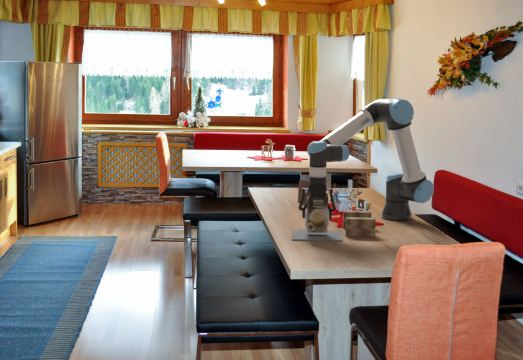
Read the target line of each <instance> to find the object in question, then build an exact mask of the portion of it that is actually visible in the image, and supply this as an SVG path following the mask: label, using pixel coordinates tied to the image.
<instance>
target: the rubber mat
mask: <svg viewBox="0 0 523 360" xmlns="http://www.w3.org/2000/svg"><path fill="white" fill-rule="evenodd" d="M342 237H343V236H342V235H341V231H340V230H327V233H307V231H306V229H305V230H304V229H303V230H298V229H292V230H291V241H293V242H294V241H296V242H297V241H299V242H300V241H301V242H302V241H303V242H312V241H313V242H343V238H342Z"/></svg>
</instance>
